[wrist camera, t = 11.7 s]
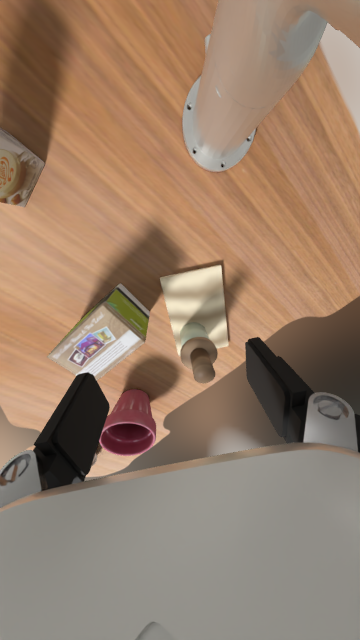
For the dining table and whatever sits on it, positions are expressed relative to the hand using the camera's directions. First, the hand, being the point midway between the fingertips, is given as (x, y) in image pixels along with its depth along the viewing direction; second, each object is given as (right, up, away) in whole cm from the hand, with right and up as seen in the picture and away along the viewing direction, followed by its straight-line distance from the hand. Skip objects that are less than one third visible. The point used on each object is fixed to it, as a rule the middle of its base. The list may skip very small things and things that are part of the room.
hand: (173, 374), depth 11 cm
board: (+5, +5, +35) cm, 36 cm away
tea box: (-16, +4, +34) cm, 38 cm away
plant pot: (-14, -22, +47) cm, 53 cm away
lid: (+5, -4, +29) cm, 30 cm away
